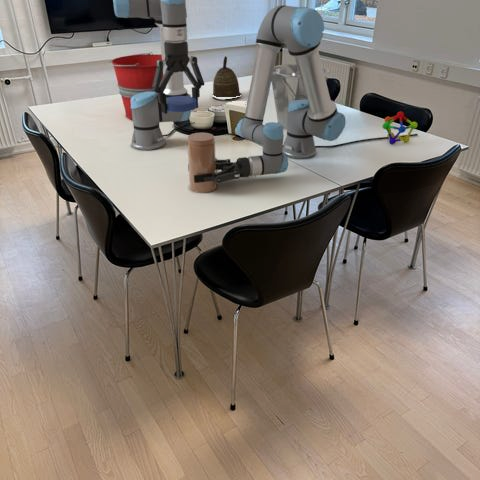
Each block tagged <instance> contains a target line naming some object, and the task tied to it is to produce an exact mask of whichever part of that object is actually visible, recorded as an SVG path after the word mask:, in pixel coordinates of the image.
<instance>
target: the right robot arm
mask: <svg viewBox="0 0 480 480" xmlns="http://www.w3.org/2000/svg"><path fill="white" fill-rule="evenodd" d="M324 31H325V22H324V19H323V17H322V14H321V13H320V12H319V11H318V10H317V9H315V8H311V7H308V6H293V5H292V6H291V5H284V4H280V5H277V6H275V7H273V8H271V9H270V10H269V11H268V12H267V13H266V14H265V16H264V17H263V19H262V21H261V23H260V26H259V28H258V30H257V35H256V40H255V45H256V48H257V49H256V54H255V59H254V64H253V70H252V75H251V81H250V86H249V91H248V96H247V100H246V103H247V104H246V106H245V112H244V118H241V119H240V120H239V121H238V123H237V125H236V133H237V134H238V136H240V137H241V138H243V139H244V140H247V141H248V142H249V141H250V142H252V143H254V144H257V145H259V146H262V155H252V156H248V157H247V156H243V157H238V158H237V159H236V161H235V162H234V161H231V159H230V158H227V159H226V158H225V159H217V160H216V171H217V170H218V172H216V173H210V174H201V175H194V183H199V182H207V181H213V182H216V184H220V183H224V182H229V181H233V180H238V179H241V178H242V179H243V178H249V177H255V178H256V177H258V176H265V175H277V174H282V173H285V172H287V170H288V168H289V158H291V159H297V160H298V159H299V160H302V159H310V158H313V157H314V156H316V154H317V149H331V148H337V147H342V146H347V145H351V144H357V143H362V142H363V143H364V142H369V141H370V142H371V141H378V140H379V141H380V140H390V139H389V138H388V136H381V137H372V138H364V139H357V140H352V141H348V142H342V143H338V144H333V145H316V143H315V138H314V137H316V138H318V139H321V140H323V141H328V142H333V141H336V140H337V139H338V138H340V136H341V135H342V133H343V132H344V129H345V128H346V123H347V122H346V120H347V119H346V116H345V115H344V113H342V112H339V111H338V108H337V104H336V102H335V101H334V100H332V99H331V96H330V92H329V88H328V85H327V81H326V79H325V75H324V71H323V67H324V66H323V63H322V60H321V56H320V55H321V54H320V52H319V48H320V46H321V43H322V40H323V37H324V33H323V32H324ZM284 43H285V45H286V47H287V48H286V49H287V52H288V54H289V55H290V56H292V57H294V60H295V64H297V67H298V70H299V73H300V77H301V80H302V84H303V87H304V90H305V94H306V97H307V100H296V101H292V102H291V103H290V104H289V108H288V120H287V129H286V136H284V128H283V126H282V124H280V123H278V122H275V121H270V122H265V123H264V118H265V114H266V109H267V108H266V107H267V105H268V99H269V95H270V91H271V90H270V89H271V86H272V82H271V81H272V76H273V71H274V66H276V61H277V56H278V52H279V51H281V49H282V46H283V44H284ZM407 135H408V134H404V135H399V136H400V137H404V136H407ZM418 135H419V134H418V133H411V134H410V136H409V137H417V136H418ZM284 137H285V139H284ZM393 138H394V137H393ZM187 168H188V169H187V171H188V172H189V163H187ZM212 175H213V176H212Z"/></svg>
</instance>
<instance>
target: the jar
mask: <svg viewBox="0 0 480 480" xmlns="http://www.w3.org/2000/svg"><path fill="white" fill-rule="evenodd" d="M216 158H217V157H216V141H215V137H214V134H212V133H208V132H195V133H191V134H189V135H188V137H187V159H188V161H187V162H188V163H187V164H189V171H188V176H189V177H188V178H189V189H190V191H193V192H195V193H200V194H205V193H211V192H214V191H215V190H216V189H217V183H216V182H213V181H207V182H199V183H194V175H201V174H210V173H217V170H216ZM212 176H213V175H212Z"/></svg>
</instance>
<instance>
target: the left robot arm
mask: <svg viewBox="0 0 480 480" xmlns="http://www.w3.org/2000/svg"><path fill="white" fill-rule="evenodd" d="M112 2H113V3H112V4H113V11H114V15H115V16H116V18H124V19H128V18H130V19H132V18H140V19H147V20H148V19H149V20H152V19H153V20H154V25H156V26H157V27H158V29H159V39H160V50H161V51H160V53H161V55H162V60H156V66H157V68H156V72H155V77H154V81H153V85H152V91H154V92H151V91H148V92H142V93H138V94H136V95H134V96H133V97H132V98H131V109H132V117H133V120H132V125H133V132H132V135H131V142H130V143H131V147H132V148H134V149H135V150H141V151H151V150H153V151H154V150H157V149H161V148H163V147H164V146H165V144H166V140H165V137H169V136H171V135H172V133H173V132H174V131H176V130H178V129H181V128H182V127H183V128H184V127H185V126H187V125H189V124H191V123H190V122H191V121H188V120H190V118H191V113H192V110H191V111H186V112H172V111H167V104H166V98H168V97H173V96H189V97H193V98H195V99H196V102H197V107H196V109H198V108H199V98H200V97H201V96H200V95H201V94H200V89H202V87H203V86H205V81H204V78H203V75H202V73H201V70H200V67H199V65H198V57H196V56H194V55H191V56H189V44H188V41H187V40H188V24H187V18H188V13H187V5H186V0H112ZM189 64H190V65H191V68H192V71H193V73H194V74H193V73H192V72H191V69H190V68H189V66H188V65H189ZM162 73H163V78H162V80H161V77H162ZM184 74H185V76H186V77H187V78H188V80H189V81H190V83H191V84H192V87H191V94H190V93H188V89H186V87H185V84H184V83H185V82H184ZM160 81H161V82H160ZM156 93H158V95H157V94H156ZM185 121H188V122H186V123H184V124H182V125H179V126H177V127H175V128H173V129H172V130H171V131H170V132H168V133H167V134H163V132H162V130H161V127H160V123H170V122H179V123H180V122H185Z"/></svg>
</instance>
